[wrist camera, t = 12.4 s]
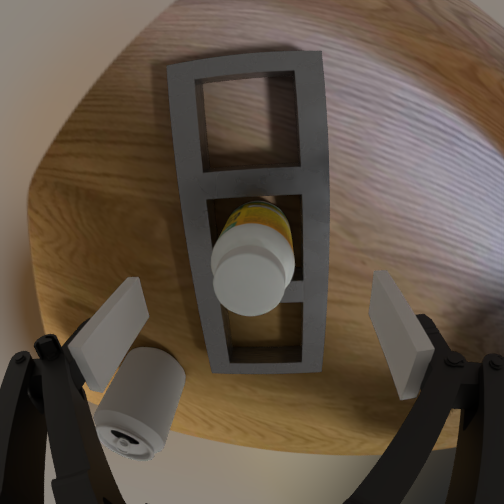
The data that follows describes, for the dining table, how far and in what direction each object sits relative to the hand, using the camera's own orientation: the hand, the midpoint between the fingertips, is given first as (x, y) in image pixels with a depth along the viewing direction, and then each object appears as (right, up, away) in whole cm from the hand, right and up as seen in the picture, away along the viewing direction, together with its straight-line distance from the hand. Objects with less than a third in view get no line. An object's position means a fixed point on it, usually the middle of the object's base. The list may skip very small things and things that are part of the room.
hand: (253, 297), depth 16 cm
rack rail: (+1, +4, +9) cm, 10 cm away
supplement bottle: (+1, +4, +9) cm, 10 cm away
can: (-11, -11, +17) cm, 23 cm away
